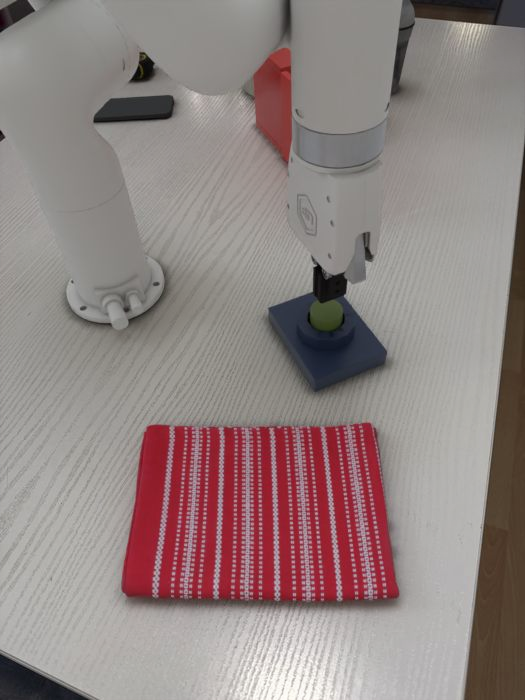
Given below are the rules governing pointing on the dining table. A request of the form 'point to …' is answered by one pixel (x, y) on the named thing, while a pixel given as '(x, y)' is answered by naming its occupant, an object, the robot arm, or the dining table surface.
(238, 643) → the dining table surface
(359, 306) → the dining table surface
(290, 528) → the dish towel
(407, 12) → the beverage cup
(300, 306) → the panel
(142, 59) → the tape measure
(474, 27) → the dining table surface
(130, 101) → the phone
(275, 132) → the cabinet
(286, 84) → the door
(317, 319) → the button
